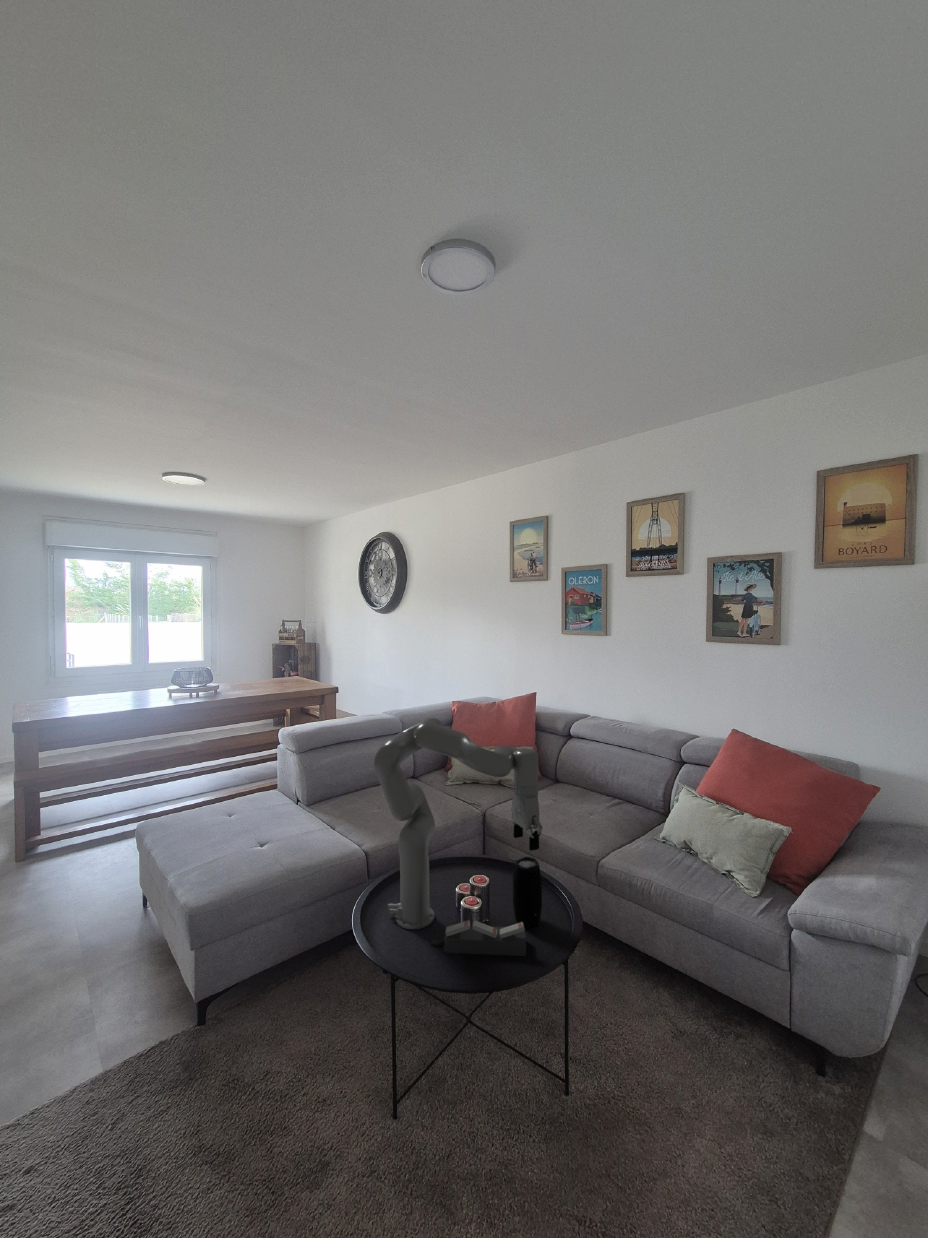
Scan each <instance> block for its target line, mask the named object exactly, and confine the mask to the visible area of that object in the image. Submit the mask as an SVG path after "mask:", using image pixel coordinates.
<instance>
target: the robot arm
mask: <svg viewBox="0 0 928 1238" xmlns="http://www.w3.org/2000/svg"><path fill="white" fill-rule="evenodd" d="M423 749H425V750H429V751H432V752H434V753H438V754H441V755H444V756H447V757H450V758H452V759H456V760H457V761H459V762H460V763H461V764H463V765H465V766H467V767H468V768H470V769H471V770H474V771H476V772H478V773H481V774H485V775H486V776H487V775H488V776H490V777H494V778H505V777H507V776H508V775H509V774H510V773H511V771H512V770H513V771H514V773H513V777H514V779H513V780H514V781H513V782H514V785H513V789H514V790H513V793H512V800H511V801H512V802H511V804H512V805H511V808H510V809H511V820H512V824H513V837H514V839H517V838H523V837H524V830H525V831H528V832H529V833H528V834H529V839H528V841H529V845H528V846H529V847H528V849H529V851H532V852H533V851H538V850H539V849H540V837H541V835H542V831H543V825H542V824H541V822H540V805H539V804H540V803H539V796H538V795H539V753H538V751H537V750H535V749H533V748H517V747H512V746H508V745H500V746H499V745H498V746H497V747H496V748H494V750H490V749H488V748H484V747H481V746H479V745H478V744H476V743H474V742H473V740H472V739H470V737H469V736H468V734H466V733H465V732H463V731H458V730H456V729H452V728H448V727H446V726H445V725H444V724H443V722H442V721H441V720H440V719H438V718H435V717H428V718H426V719H424V720H423V721H420V722H419V723H417V724H414V725H412V726H411V727H409V728H407V729H405V730H403V731H400V732H399V733H396V735H394V736H393V737H390V738H389V739H388V740H387V741H385V742H384V743H383V744H382V745H381V746H380V747H379V748H378V750H377V751H376V754H375V756H374V760H373V766H374V771H375V774H376V777H377V779H378V781H379V784H380V786H381V789H382V792H383V796H384V797H385V800H386V803H387V806H388V809H389V812H390V813H391V816H392V817H393V818H394V819H395V820H397V821H399V822H404V821H405V822H406V823H405V824H404V825H403V827H402V828H401V829H400V832H399V835H398V838H397V846H398V848H397V849H398V855H399V873H400V875H399V876H400V877H399V878H400V879H399V881H400V882H399V884H400V885H399V887H400V895H399V896H400V897H399V898H400V902H397V903H388V904H387V910H388V911H389V914H395V921H396V924H397V925H398V926H399V927H401V928H403V929H407V930H419V929H420V930H421V929H423V928H426V927H428V926H429V925H431V924H432V923H433V922H434V919H435V912H434V910H433V909H432V908H431V907H430V858H429V851H428V844H429V842H430V840H431V838H432V837H433V835H434V832H435V830H436V822H435V818H434V816H433V813H432V810H431V807H430V805H429V802H428V799H427V797H426V795H425V793H424V791H423V789H422V788H421V787H420V785H418V784H417V783H414V782H408V780H407V777H406V774H405V772H404V771H403V769H402V768H401V764H402V763H403V762H404V761H405V760H407V759H408V758H409V757H410V756H411V755H413V754H414V753H417V752H418V751H421V750H423Z"/></svg>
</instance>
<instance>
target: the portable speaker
mask: <svg viewBox="0 0 928 1238" xmlns="http://www.w3.org/2000/svg"><path fill="white" fill-rule="evenodd" d="M512 905H513V913H514V918H515V919H514V920H515V922H516V924H517V923H520V922H523V924H524V928H525V930H529V928H531V927H534V926H536V927H539V925H540V923H541V922H540V921H541V917H542V916H541V914H542V909H543V908H542V907H543V879H542V874H541V867H540V863H539V861H538V860H537V859H536V858H535V857H533V856H524V857H522V858H519V859H516V860H515V861H514V870H513V875H512Z"/></svg>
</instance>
